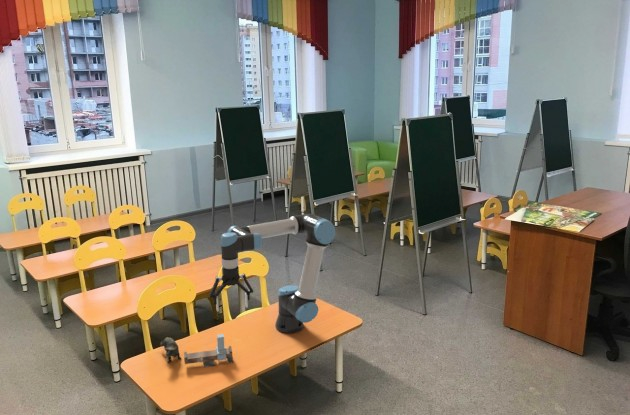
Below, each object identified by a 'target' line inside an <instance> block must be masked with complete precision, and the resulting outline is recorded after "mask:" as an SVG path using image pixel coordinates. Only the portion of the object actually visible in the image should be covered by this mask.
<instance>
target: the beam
mask: <svg viewBox="0 0 630 415" xmlns="http://www.w3.org/2000/svg"><path fill="white" fill-rule="evenodd" d="M225 350H226V360H227V364H230V363H234V357H233V348H232V346H231V345H228V347H227V348H226V347H225ZM183 356H184V361H183V362H184V365H189V364H197V363H203V365H202V366H203V368H209V367H215V364H216V363H215V361H218V358H217V350H216V349H213V350H212V349H211V350H205V351H196V352H188V353H187V351H184V352H183Z"/></svg>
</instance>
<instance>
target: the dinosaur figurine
mask: <svg viewBox="0 0 630 415" xmlns="http://www.w3.org/2000/svg"><path fill="white" fill-rule="evenodd" d="M159 346H160V347H163V349H164V351H165V352H166V353H165V355H164V356H165V358H166V359H167V364H172V363H173V361H172V358H173V357H174V358H175V357H177V361H181V360H182V357H181V356H180V352H179V351H180V350H179V349H180V347H179V345H178V344H177V343H176V341H175V340H174V338H172V337H168V336H167V337H165V338H164V339H163V340H162V341H160V344H159Z"/></svg>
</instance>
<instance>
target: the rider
mask: <svg viewBox="0 0 630 415" xmlns="http://www.w3.org/2000/svg"><path fill="white" fill-rule="evenodd" d="M216 342H217V345H215V346H216V347H215V350H217V358H218V360H217V361H218V362H221V361H226V360H227V359H226V350H225V349H226V344H225V335H224V333H220V334H217V335H216Z"/></svg>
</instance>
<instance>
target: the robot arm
mask: <svg viewBox="0 0 630 415" xmlns="http://www.w3.org/2000/svg"><path fill="white" fill-rule="evenodd" d="M289 234H293V235H304V236H306V239H305V244H306V245H307V248H306V251H305V258H304V260H303V262H304V263H303V266H302V271H301V277H300V280H299V285H291V284H290V285H284V286H282V287H280V288H279V289H278V293H277V294H278V295H277V296H278V297H277V298H278V315H277V318H276V321H275V329H276V330H277V331H278V332H281V333H282V334H283V333H284V334H295V333H297V332H298V333H299V332H300V331H302V330H303V329H304V323H306V324H307V323H311V322H312V321H313V320H314V319H315V318H316V317H317V315H318V313H319V307H318V305H317V303H316V302H317V298H318V297H317V295H316V293H315V292H316V288H317V285H318V284H317V283H318V280H319V274H320V270H321V266H322V261H323V257H324V252H325V250H326V248H328V246H329V245H330V243H331V242H332V241H333V240H334V239H335V236H336V229H335V225H334V223H332V221H330V220H329V219H327V218H323V217H321V216H318V215H316V214H314V213H305V214H304V213H303V214H299V215H298V214H296V215H293V216H290V217H289V218H286V219H280V220H275V221H270V222H269V221H268V222H262V223H258V224H251V225H244V226H239V225H232V226H230V227H229V228H228V229H227V232H224V233H223V234H221V236H220V250H221V252H220V253H221V274H222V275H221V276H219V277H218V276H215V280H214V283H213V286H212V287H211V290H210V292H209V294H208V296H209V298H211V299H212V298H213V305H215V306H216V307H215V308H216V312H217V313H218V312H219V310H220V308H219V307H220V306H219V295H220V294H221V293H222V292H223V290H224V289H225V288H226V287H230V286H236V285H237V287H239V288H240V289H241V290H242V291H244V303H245V304H244V306H245V308H247V309H248V307H249V306H248V305H249V304H248V301H250V298H251V297H250V295H251V294H253V293H254V290H253V288H252V286H251V285H250V283H249V281H248V279H247V276H246V274H245V273H242V274H240V271H239V269H240V267H239V253H243V252H248V251H256V250H258V249H261V248H262V246H263V239H266V238H272V237H273V238H274V237H278V236H283V235H289ZM240 279H241V280H243V282H244V284H246V286H247V287H245V285H243V284H242V283H241V282H240ZM221 281H222V282H221ZM220 282H221V284H220V286H219V283H220ZM218 286H219V287H218ZM217 287H218V288H217Z"/></svg>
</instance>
